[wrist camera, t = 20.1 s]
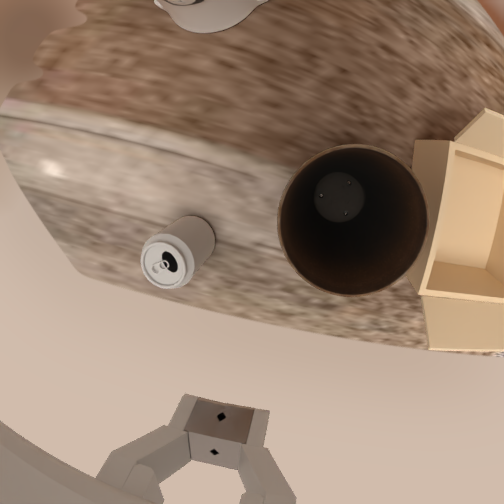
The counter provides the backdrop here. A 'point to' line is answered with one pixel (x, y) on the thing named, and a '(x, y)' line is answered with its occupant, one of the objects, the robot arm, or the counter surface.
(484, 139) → the flap
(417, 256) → the plant pot
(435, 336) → the flap
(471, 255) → the carton
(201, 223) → the can
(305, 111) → the counter surface
